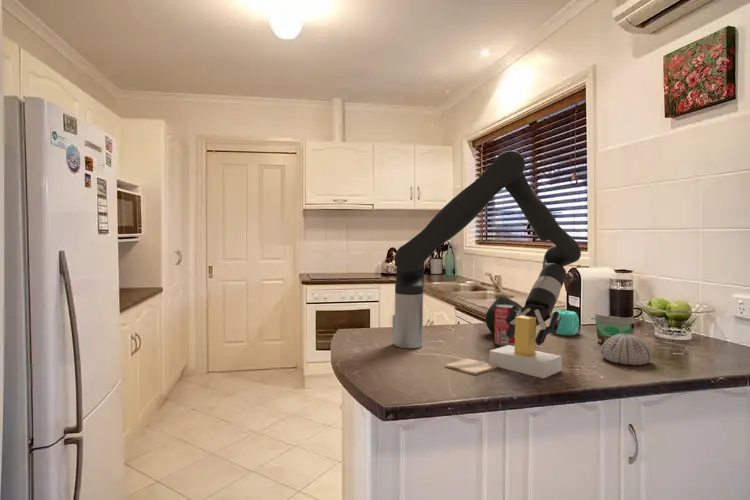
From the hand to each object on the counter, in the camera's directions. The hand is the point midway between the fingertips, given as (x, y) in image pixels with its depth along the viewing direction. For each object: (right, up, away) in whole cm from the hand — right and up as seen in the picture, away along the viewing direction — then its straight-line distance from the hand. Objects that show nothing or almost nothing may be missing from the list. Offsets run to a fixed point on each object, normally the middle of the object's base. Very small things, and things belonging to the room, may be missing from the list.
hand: (522, 340), depth 123 cm
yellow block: (+1, -8, +1) cm, 8 cm away
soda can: (+3, -7, +28) cm, 29 cm away
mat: (-14, -8, +1) cm, 16 cm away
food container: (+39, -7, +27) cm, 48 cm away
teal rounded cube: (+31, -7, +47) cm, 56 cm away
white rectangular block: (+1, -8, +1) cm, 8 cm away
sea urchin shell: (+33, -8, +9) cm, 35 cm away
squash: (+7, -7, +41) cm, 42 cm away
